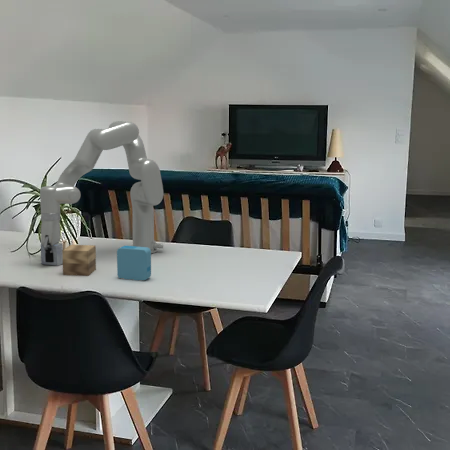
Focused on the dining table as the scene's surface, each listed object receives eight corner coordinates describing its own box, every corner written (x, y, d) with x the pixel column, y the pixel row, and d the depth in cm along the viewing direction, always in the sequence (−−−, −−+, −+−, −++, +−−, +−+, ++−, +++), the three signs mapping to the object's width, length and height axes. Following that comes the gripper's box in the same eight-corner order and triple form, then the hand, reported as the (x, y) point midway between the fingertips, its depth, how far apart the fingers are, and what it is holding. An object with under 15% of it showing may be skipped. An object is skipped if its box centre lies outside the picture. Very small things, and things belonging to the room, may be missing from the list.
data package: (151, 278, 226) (151, 247, 223) (146, 281, 221) (146, 249, 219) (122, 275, 229) (121, 245, 226) (117, 278, 224) (116, 247, 222)
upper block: (95, 257, 236) (95, 245, 235) (88, 263, 226) (88, 251, 226) (71, 257, 237) (70, 244, 236) (62, 263, 227) (62, 250, 226)
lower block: (95, 270, 237) (95, 257, 236) (88, 276, 227) (88, 263, 226) (71, 269, 238) (70, 257, 237) (63, 275, 228) (62, 263, 227)
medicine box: (63, 263, 245) (63, 243, 244) (57, 266, 241) (56, 245, 239) (47, 261, 248) (46, 241, 246) (40, 264, 243) (40, 243, 242)
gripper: (49, 213, 249) (50, 255, 253) (33, 220, 233) (35, 265, 236) (66, 213, 249) (68, 255, 252) (52, 220, 232) (53, 265, 235)
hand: (52, 259), depth 244 cm, fingers closed on medicine box, 5 cm apart
